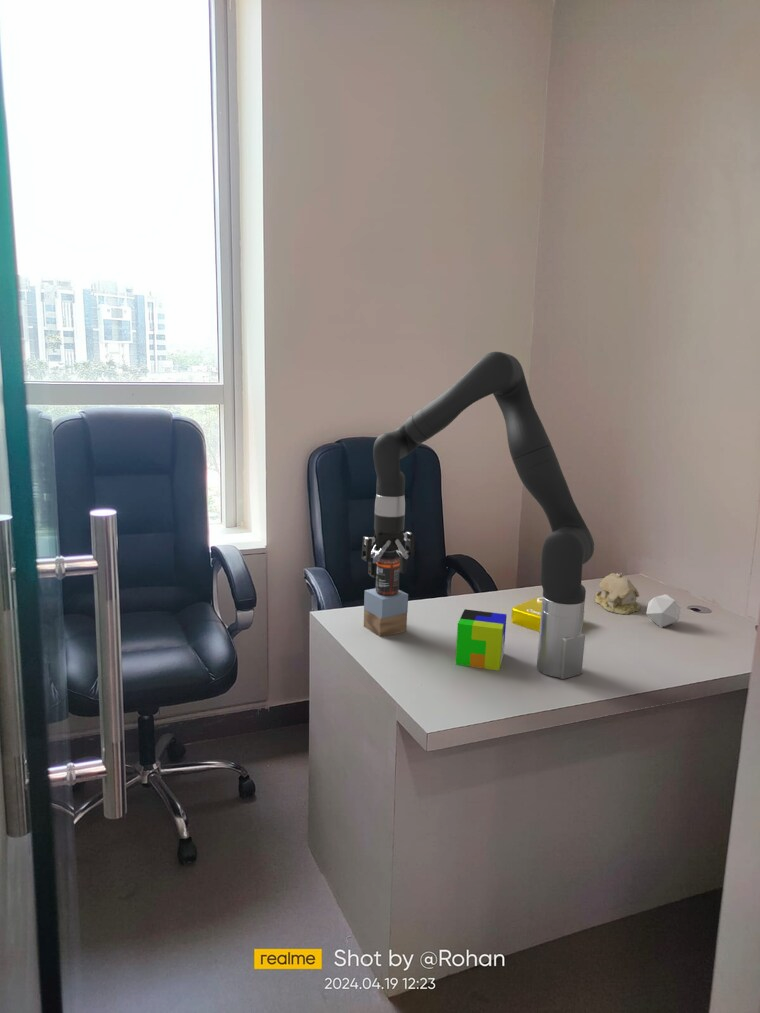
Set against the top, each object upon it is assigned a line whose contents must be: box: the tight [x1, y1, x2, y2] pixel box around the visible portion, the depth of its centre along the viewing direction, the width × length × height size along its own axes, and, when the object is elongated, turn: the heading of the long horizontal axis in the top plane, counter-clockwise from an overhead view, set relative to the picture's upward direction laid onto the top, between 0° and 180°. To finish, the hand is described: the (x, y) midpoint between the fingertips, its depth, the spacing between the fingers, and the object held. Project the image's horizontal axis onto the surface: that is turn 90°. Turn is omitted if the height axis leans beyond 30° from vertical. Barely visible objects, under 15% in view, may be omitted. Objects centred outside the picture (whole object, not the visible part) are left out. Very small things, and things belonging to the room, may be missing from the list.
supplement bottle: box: [375, 550, 400, 595], centre depth 183 cm, size 6×6×11 cm
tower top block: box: [363, 587, 409, 618], centre depth 185 cm, size 8×8×5 cm
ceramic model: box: [594, 572, 640, 615], centre depth 209 cm, size 14×11×10 cm
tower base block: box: [363, 608, 408, 638], centre depth 186 cm, size 8×8×5 cm
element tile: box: [510, 596, 585, 633], centre depth 194 cm, size 15×15×5 cm
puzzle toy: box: [455, 608, 507, 671], centre depth 169 cm, size 10×10×10 cm
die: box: [645, 593, 682, 628], centre depth 195 cm, size 8×9×10 cm
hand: (387, 574), depth 183 cm, fingers open, 8 cm apart
